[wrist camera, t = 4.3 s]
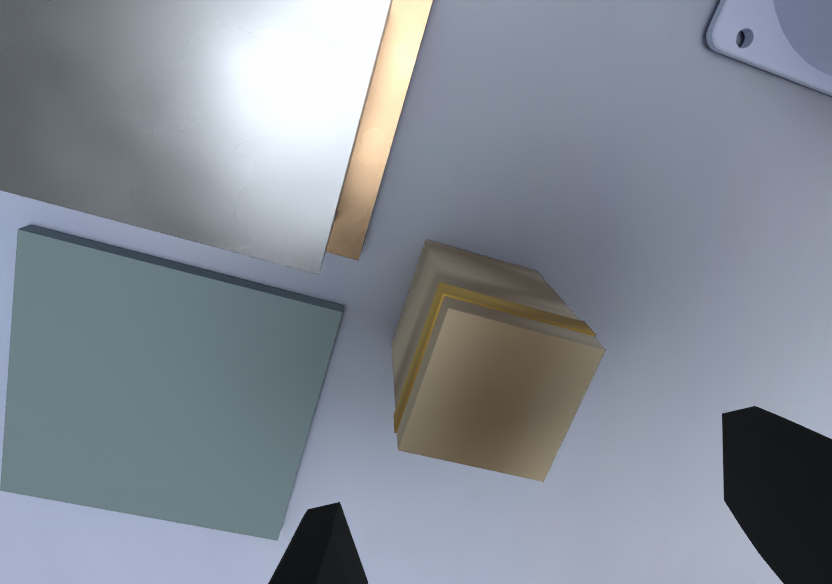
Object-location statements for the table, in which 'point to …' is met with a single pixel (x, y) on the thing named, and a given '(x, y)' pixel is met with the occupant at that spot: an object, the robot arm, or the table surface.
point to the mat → (158, 385)
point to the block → (487, 364)
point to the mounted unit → (209, 115)
